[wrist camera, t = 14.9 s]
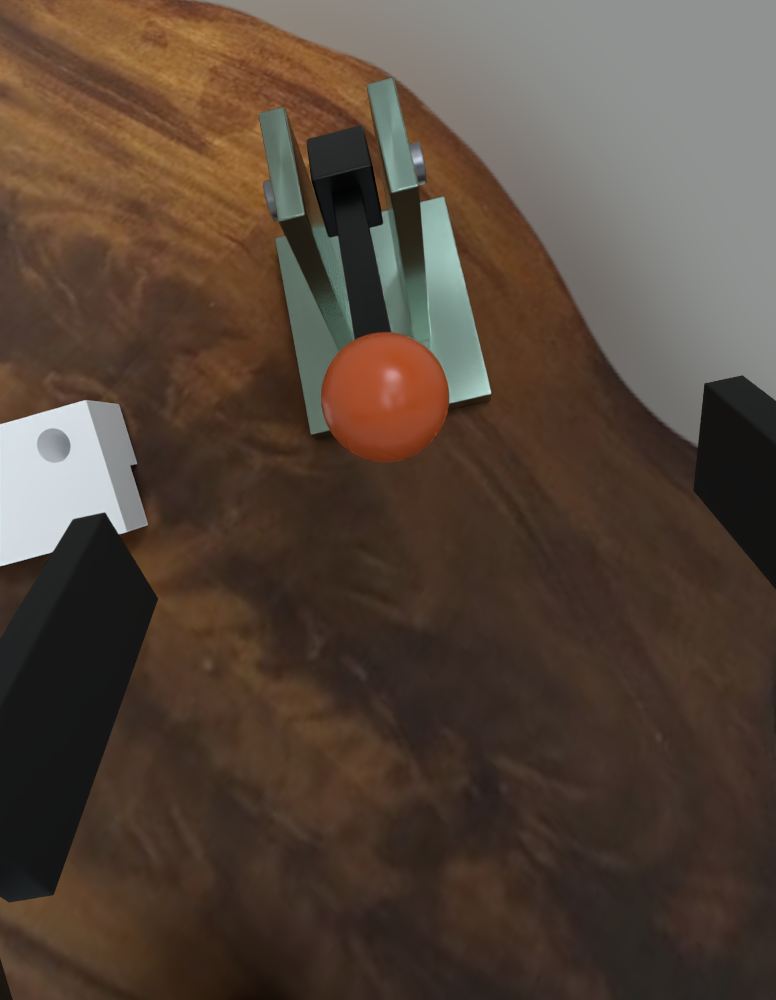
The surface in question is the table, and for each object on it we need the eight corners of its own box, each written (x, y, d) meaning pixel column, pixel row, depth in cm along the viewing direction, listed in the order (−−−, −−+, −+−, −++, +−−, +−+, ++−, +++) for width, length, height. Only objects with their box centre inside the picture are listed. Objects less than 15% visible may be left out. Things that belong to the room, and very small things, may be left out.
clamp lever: (465, 471, 17) (455, 388, 14) (344, 497, 18) (310, 421, 15) (394, 194, 25) (377, 101, 22) (309, 215, 25) (282, 126, 22)
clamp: (490, 401, 33) (517, 268, 20) (315, 440, 34) (224, 338, 20) (444, 208, 35) (440, -31, 22) (280, 249, 36) (176, 41, 23)
